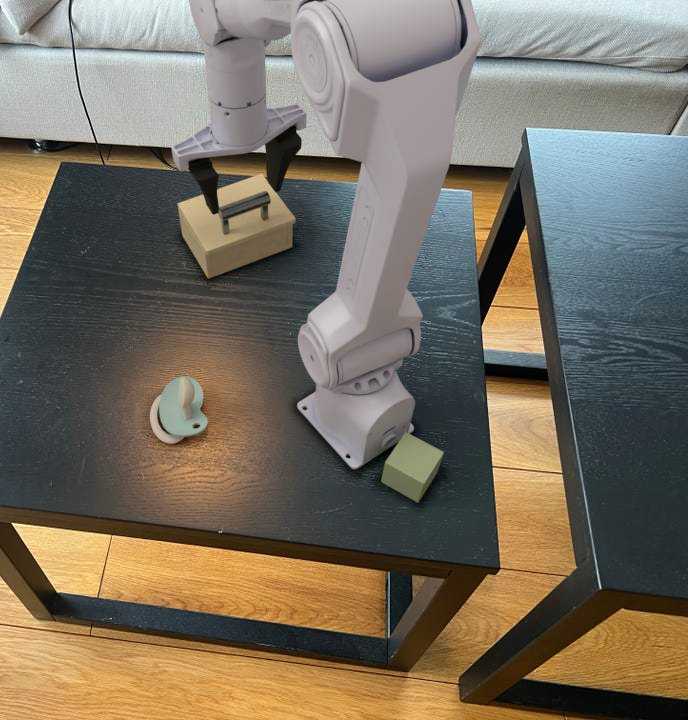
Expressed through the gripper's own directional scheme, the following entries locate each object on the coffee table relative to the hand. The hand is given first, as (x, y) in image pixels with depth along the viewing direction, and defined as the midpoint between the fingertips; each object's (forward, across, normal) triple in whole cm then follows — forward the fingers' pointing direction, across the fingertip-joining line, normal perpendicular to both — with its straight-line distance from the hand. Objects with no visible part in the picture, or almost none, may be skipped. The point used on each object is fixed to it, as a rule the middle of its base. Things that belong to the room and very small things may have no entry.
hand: (243, 197), depth 85 cm
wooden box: (+10, 0, -3) cm, 10 cm away
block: (+10, -2, +34) cm, 35 cm away
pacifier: (+10, +16, +18) cm, 26 cm away
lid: (+5, 0, -3) cm, 6 cm away
